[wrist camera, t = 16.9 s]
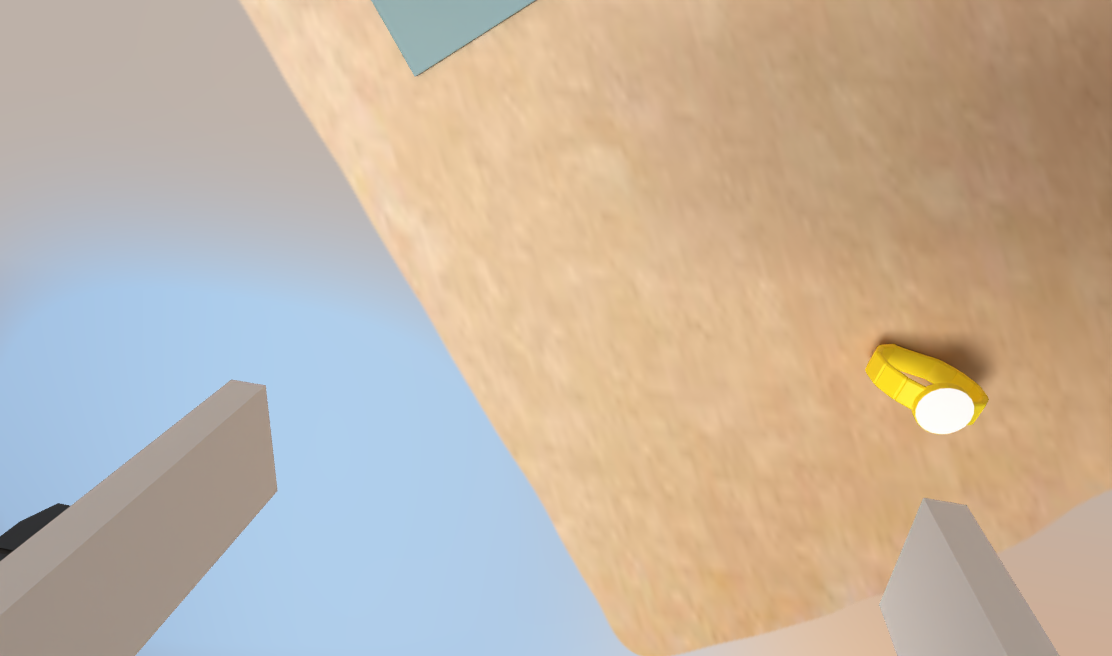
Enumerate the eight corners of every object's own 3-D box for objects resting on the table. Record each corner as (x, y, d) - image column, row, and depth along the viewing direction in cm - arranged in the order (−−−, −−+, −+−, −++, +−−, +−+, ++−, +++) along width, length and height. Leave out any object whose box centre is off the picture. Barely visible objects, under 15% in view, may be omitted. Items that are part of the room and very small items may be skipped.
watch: (851, 363, 40) (870, 411, 34) (873, 323, 38) (897, 367, 33) (949, 398, 39) (984, 453, 34) (974, 359, 38) (1015, 410, 33)
